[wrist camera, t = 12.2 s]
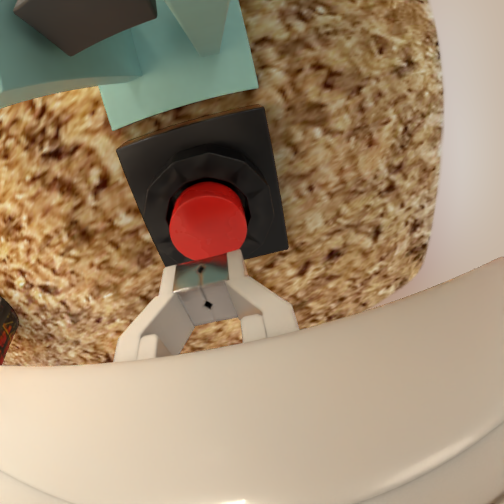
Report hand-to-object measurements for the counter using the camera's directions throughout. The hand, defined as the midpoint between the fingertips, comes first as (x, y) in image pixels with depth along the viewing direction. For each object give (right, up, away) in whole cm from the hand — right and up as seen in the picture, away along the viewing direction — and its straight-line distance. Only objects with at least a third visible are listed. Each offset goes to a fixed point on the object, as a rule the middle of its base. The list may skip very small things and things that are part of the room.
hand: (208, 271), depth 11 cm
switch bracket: (-3, +12, 0) cm, 13 cm away
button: (-1, +3, +3) cm, 4 cm away
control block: (-1, +4, +6) cm, 8 cm away
